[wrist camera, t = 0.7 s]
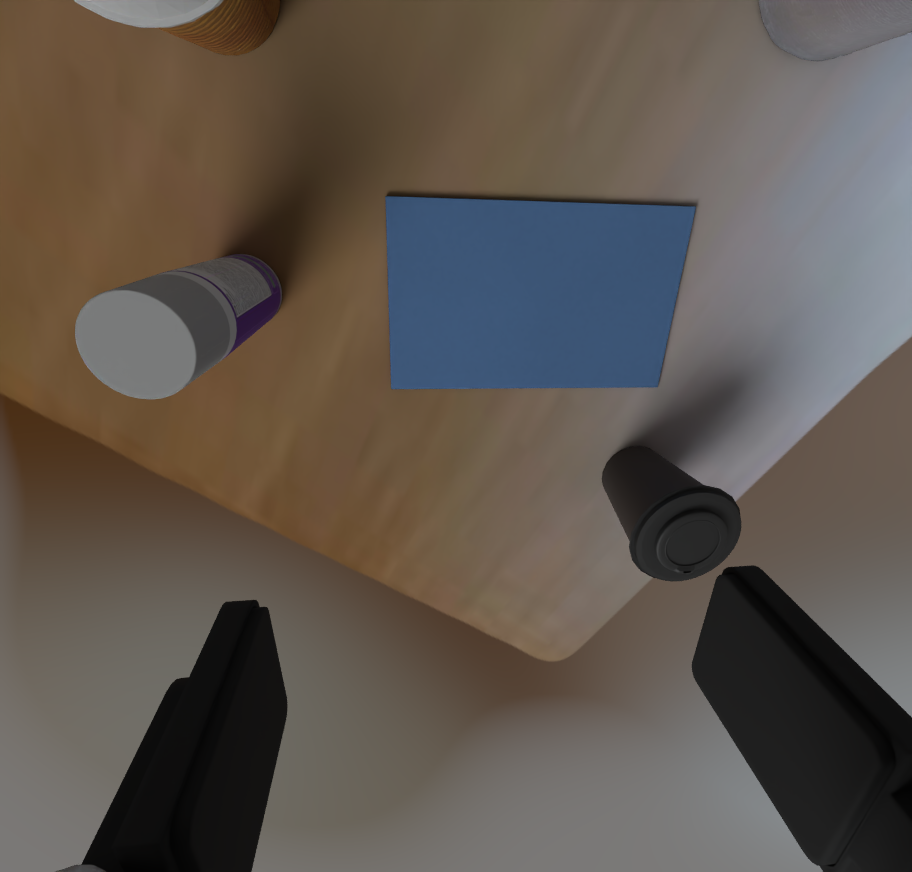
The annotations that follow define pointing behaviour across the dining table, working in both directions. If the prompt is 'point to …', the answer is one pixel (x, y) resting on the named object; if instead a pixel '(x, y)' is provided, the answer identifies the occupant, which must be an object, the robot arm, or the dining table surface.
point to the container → (175, 324)
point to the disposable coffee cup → (198, 20)
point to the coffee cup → (670, 515)
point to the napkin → (531, 292)
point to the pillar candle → (834, 25)
